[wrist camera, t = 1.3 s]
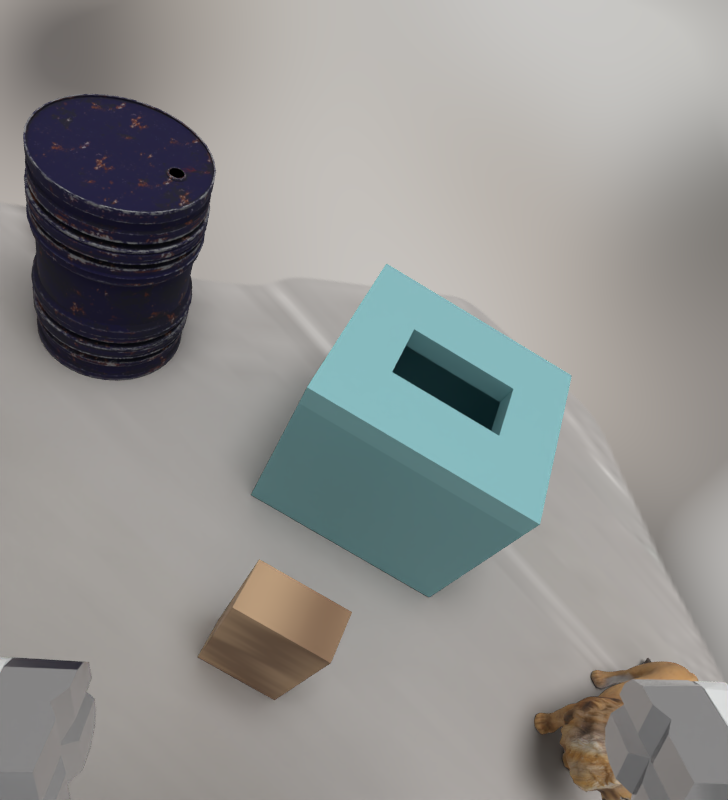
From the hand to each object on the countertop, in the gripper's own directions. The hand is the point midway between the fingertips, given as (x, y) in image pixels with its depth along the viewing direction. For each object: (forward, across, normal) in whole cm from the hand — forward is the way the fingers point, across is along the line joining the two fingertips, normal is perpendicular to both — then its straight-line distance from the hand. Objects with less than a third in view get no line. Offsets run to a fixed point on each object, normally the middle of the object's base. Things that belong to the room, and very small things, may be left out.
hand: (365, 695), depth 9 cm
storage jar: (+36, +16, +9) cm, 41 cm away
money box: (+31, -4, +17) cm, 36 cm away
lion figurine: (+19, -19, +28) cm, 39 cm away
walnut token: (+18, +3, +22) cm, 29 cm away
